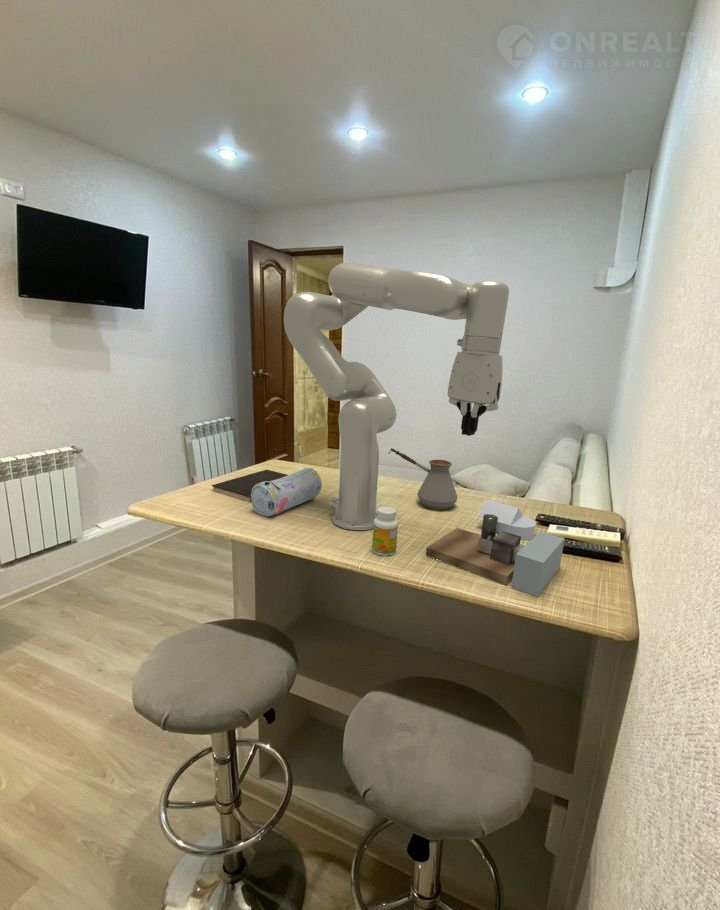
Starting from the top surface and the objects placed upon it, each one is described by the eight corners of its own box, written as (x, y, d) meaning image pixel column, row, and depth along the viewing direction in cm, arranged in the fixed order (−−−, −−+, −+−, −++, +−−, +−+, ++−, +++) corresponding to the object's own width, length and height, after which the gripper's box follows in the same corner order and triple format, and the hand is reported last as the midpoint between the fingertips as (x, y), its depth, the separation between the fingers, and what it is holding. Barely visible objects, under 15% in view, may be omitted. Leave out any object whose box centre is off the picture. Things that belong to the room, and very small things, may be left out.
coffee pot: (459, 502, 133) (465, 453, 129) (452, 515, 122) (457, 462, 119) (391, 490, 140) (395, 444, 137) (379, 501, 130) (382, 451, 126)
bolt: (477, 550, 96) (481, 516, 94) (482, 545, 98) (486, 513, 97) (533, 569, 89) (539, 533, 87) (538, 563, 91) (543, 528, 89)
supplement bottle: (366, 550, 99) (369, 508, 96) (383, 543, 102) (385, 503, 100) (384, 559, 95) (387, 516, 93) (401, 551, 99) (404, 510, 96)
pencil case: (271, 521, 112) (271, 485, 109) (247, 513, 116) (246, 478, 114) (323, 500, 129) (324, 469, 126) (300, 493, 133) (301, 463, 131)
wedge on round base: (476, 528, 114) (527, 543, 107) (479, 503, 113) (531, 517, 105) (489, 518, 121) (538, 532, 113) (492, 495, 120) (542, 507, 112)
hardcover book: (211, 492, 132) (211, 485, 131) (266, 475, 151) (266, 469, 150) (250, 504, 124) (250, 496, 123) (303, 485, 143) (303, 478, 142)
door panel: (425, 555, 97) (428, 528, 96) (456, 535, 109) (459, 510, 107) (506, 585, 87) (510, 554, 85) (530, 559, 98) (535, 532, 97)
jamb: (511, 587, 86) (516, 554, 84) (535, 560, 98) (540, 531, 96) (537, 597, 83) (543, 562, 82) (559, 568, 95) (564, 538, 93)
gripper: (439, 343, 92) (429, 429, 97) (509, 349, 84) (494, 444, 88) (456, 344, 98) (445, 426, 103) (523, 350, 89) (508, 439, 94)
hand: (468, 434), depth 96 cm, fingers closed
